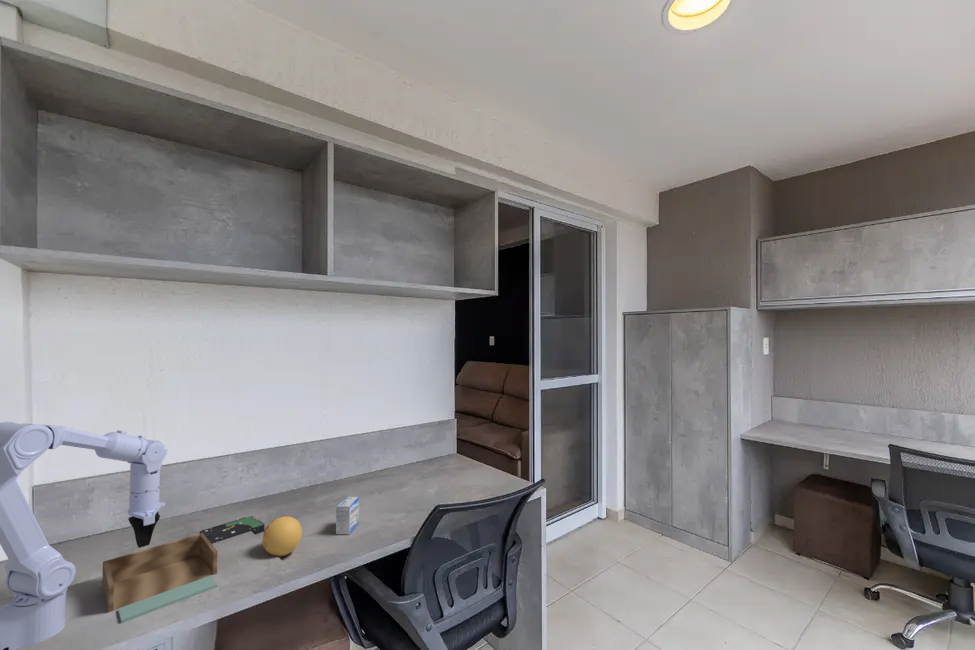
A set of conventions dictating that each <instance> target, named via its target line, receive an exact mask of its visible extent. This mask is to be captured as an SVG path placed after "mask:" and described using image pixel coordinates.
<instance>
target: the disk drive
mask: <svg viewBox="0 0 975 650" xmlns="http://www.w3.org/2000/svg"><path fill="white" fill-rule="evenodd" d="M265 526H266V525H265V523H264V522H262V521H261V520H260V519H258V518H255V517H254V515H252V516H246V517H242V518H239V519H235V520H232V521H229V522H225V523H223V524H219V525H218V524H217V525H216V526H212V527H208V528H205V529H203V530H199V534H200V533H203V534H204V535H205V536H206V537H207V539H208V540H209V541H210V543H211V544H212V545H214V544H215V543H219V542H222V541H224V540H227V539H231V538H234V537H237V536H240V535H243V534H246V533H249V532H252V534H253V535H258V534H261V533H264V531H265V529H266V527H265Z"/></svg>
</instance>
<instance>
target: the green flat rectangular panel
mask: <svg viewBox="0 0 975 650" xmlns="http://www.w3.org/2000/svg"><path fill="white" fill-rule="evenodd" d="M215 588H218V584H217V581H216V580H215V579H214V578H213V575H212V576H208V577H205V578H202V579H199V580H197V581H194V582H191V583H188V584H185V585H183V586H180V587H177V588H174V589H171V590H169V591H166V592H163V593H160V594H157V595H155V596H152V597H149V598H146V599H143V600H141V601H138V602H135V603H132V604H129V605H127V606H124V607H121V608H118V609H117V611H118V615H119V620H120V622H121V624H123V623H126V622H129V621H131V620H134V619H136V618H138V617H142V616H145V615H147V614H149V613H152V612H155V611H158V610H160V609H162V608H163V609H164V608H165V607H169V606H171V605H173V604H177V603H179V602H182V601H184V600H186V599H189V598H192V597H194V596H197V595H200V594H202V593H205V592H208V591H210V590H213V589H215Z"/></svg>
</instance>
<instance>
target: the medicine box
mask: <svg viewBox="0 0 975 650" xmlns="http://www.w3.org/2000/svg"><path fill="white" fill-rule="evenodd" d="M359 524H360V497H359V496H346V497H345V498H344V499H343V500H342V501H341V502H339V504H337V506H336V507H335V533H336V535H351V534H352V533H353V531H354V530H355V528H356V527H357V526H358V525H359Z"/></svg>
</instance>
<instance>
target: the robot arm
mask: <svg viewBox="0 0 975 650" xmlns="http://www.w3.org/2000/svg"><path fill="white" fill-rule="evenodd" d="M164 444H165V443H163V442H162V441H160V440H155V439H154V440H153V439H146V436H143V435H138V436H134V435H129V434H127V431H125V430H116V432H115V431H110V432H108V433H106V434H104V435H103V434H102V435H100V434H96V433H92V432H87V431H85V430H81V429H76V428H71V427H67V426H62V425H53V424H52V425H51V424H40V423H38V424H36V423H18V422H17V423H16V422H12V421H1V422H0V546H1V548H2V550H3V552H4V553H5V555H6V557H7V559H8V560H7V561H6V563H5V564H4V566H3V567H4V569H5V571H6V577H5V584H4V585H5V587H6V589H8V590H9V591H10V592H11V591H12V592H13V600H12V601H11V602H9V603H6V604H4V605H1V606H0V650H18V649H20V648H24V647H27V646H31V645H35V644H39V643H40V642H44V641H46V640H48V639H50V638H52V637H53V636H56V635H57V634H59V633H60V632H61V631H63V629H64V628H65V626H66V615H67V614H66V613H67V611H66V610H67V608H66V607H67V591H68V588H69V587H70V585H72V583H73V581H74V579H75V578H76V574H77V569H76V565H75V564H74V563H72V562H71V561H67V560H66V559H65V558H64V557H63V555H62V554H61V553H60V552H59V551H57V550H56V549H55V548H54V547H52V546H51V545H50V543H49V541H48V540H47V539H46V536H45V534H44V533H43V530H42V529H41V526H40V525H39V523H38V521H37V518H36V517H35V515H34V512H33V510H32V508H31V507H30V505H29V503H28V500H27V498H26V496H25V494H24V493H23V491H22V489H21V486H20V485H19V483H18V481H17V478H18V477H19V476H20V474H21V473H22V472H23V471H25V469H27V468H28V467H29V466H30V465H31V464H33V463H34V462H35V461H37V459H39V457H41V456H42V455H43V454H44V453H45V452H46V451H48V450H55V449H57V448H59V446H67V447H73V448H80V449H81V448H82V449H87V450H93V451H94V452H95V454H96V456H97V457H98V458H102V459H109V460H114V461H120V462H126V463H128V464H129V466H130V467H129V469H130V470H129V471H130V472H129V499H128V501H129V502H128V510H127V515H128V516H130V517H128V519H127V520H128V523H129V524H130V526H131V527H132V529H133V533H134V538H135V542H136V545H137V547H138V549H140V548H143V547H146V546H150V544H151V540H152V538H153V533H154V530H155V527H156V525H157V523H158V522H159V520H160V518H161V515H160V513H159V510H160V509H161V508H163V507H166V502H164V501H161V502H160V495H161V494H160V493H161V492H160V491H161V490H160V488H161V485H160V484H161V483H160V482H161V468H162V467H163V461H164V459H165V458H166V457H167V453H168V449H166V447H165V445H164Z"/></svg>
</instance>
